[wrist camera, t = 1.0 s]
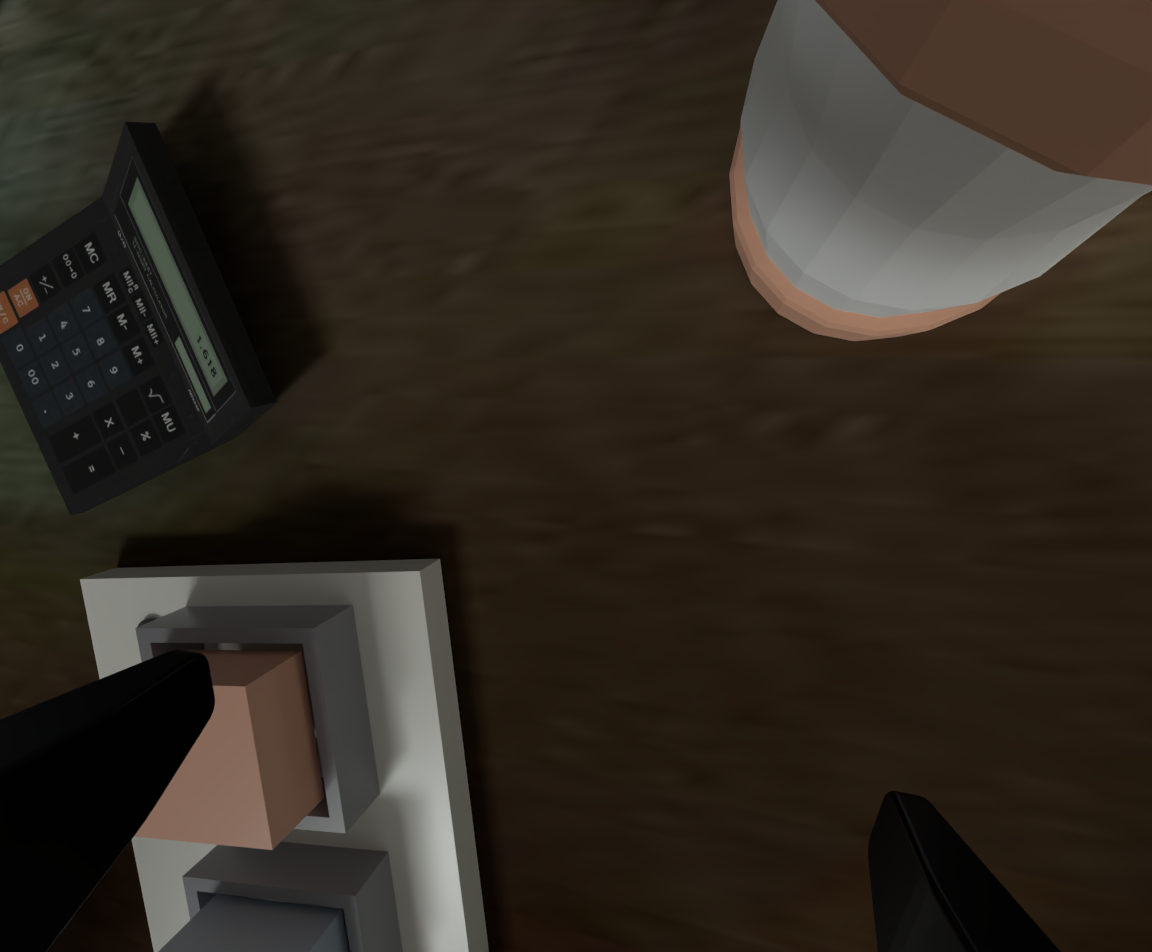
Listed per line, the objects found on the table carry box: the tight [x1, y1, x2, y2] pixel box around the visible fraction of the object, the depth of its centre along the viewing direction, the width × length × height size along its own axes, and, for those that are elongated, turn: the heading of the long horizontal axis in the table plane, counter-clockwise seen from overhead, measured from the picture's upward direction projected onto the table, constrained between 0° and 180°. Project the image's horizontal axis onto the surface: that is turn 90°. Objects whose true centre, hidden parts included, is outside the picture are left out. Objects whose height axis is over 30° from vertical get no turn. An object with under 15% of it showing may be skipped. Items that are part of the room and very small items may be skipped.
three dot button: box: [134, 649, 324, 850], centre depth 21 cm, size 5×5×2 cm
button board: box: [80, 559, 489, 952], centre depth 25 cm, size 27×14×4 cm, turn 5°
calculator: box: [0, 122, 277, 515], centre depth 24 cm, size 9×12×3 cm
